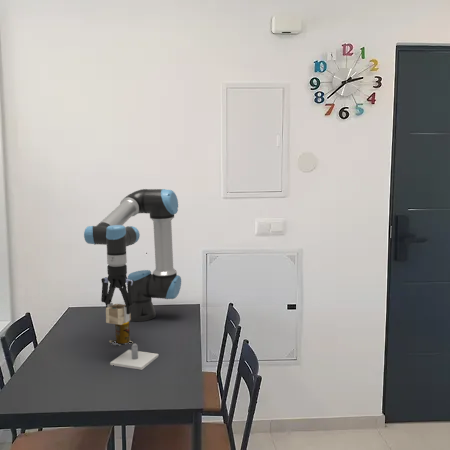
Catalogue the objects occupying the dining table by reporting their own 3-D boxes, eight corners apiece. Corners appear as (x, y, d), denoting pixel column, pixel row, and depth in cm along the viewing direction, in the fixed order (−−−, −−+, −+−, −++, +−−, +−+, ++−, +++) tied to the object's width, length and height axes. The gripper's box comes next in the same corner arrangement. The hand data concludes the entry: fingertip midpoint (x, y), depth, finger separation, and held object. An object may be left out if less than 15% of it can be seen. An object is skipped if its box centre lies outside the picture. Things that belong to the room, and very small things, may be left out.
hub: (128, 352, 219) (127, 335, 218) (158, 356, 214) (158, 339, 213) (110, 365, 206) (109, 347, 205) (142, 369, 201) (141, 352, 200)
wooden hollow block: (116, 317, 216) (115, 303, 215) (130, 319, 213) (130, 304, 212) (106, 322, 209) (105, 307, 208) (121, 324, 207) (120, 309, 206)
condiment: (133, 342, 230) (132, 316, 228) (114, 346, 225) (113, 319, 223) (126, 337, 236) (125, 312, 234) (108, 341, 231) (107, 315, 229)
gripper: (90, 264, 208) (92, 320, 211) (133, 268, 201) (135, 326, 204) (101, 260, 215) (103, 315, 218) (143, 264, 208) (145, 320, 211)
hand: (118, 320), depth 211 cm, fingers closed on wooden hollow block, 7 cm apart
